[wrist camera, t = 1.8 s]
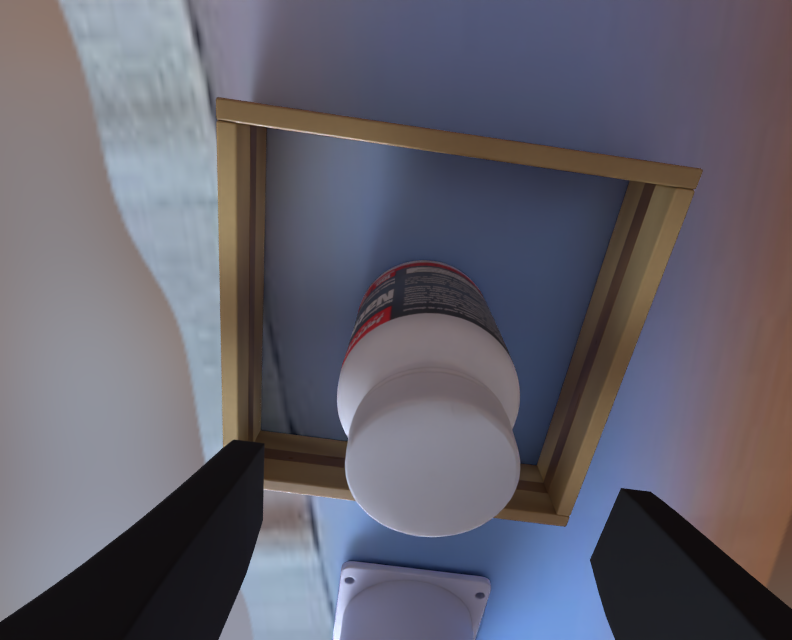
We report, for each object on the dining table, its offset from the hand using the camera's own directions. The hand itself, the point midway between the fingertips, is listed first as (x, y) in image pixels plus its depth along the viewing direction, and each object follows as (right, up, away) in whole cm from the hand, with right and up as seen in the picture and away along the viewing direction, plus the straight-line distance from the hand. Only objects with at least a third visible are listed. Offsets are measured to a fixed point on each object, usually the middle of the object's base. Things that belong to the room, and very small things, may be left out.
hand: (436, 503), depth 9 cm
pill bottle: (0, +4, +9) cm, 10 cm away
